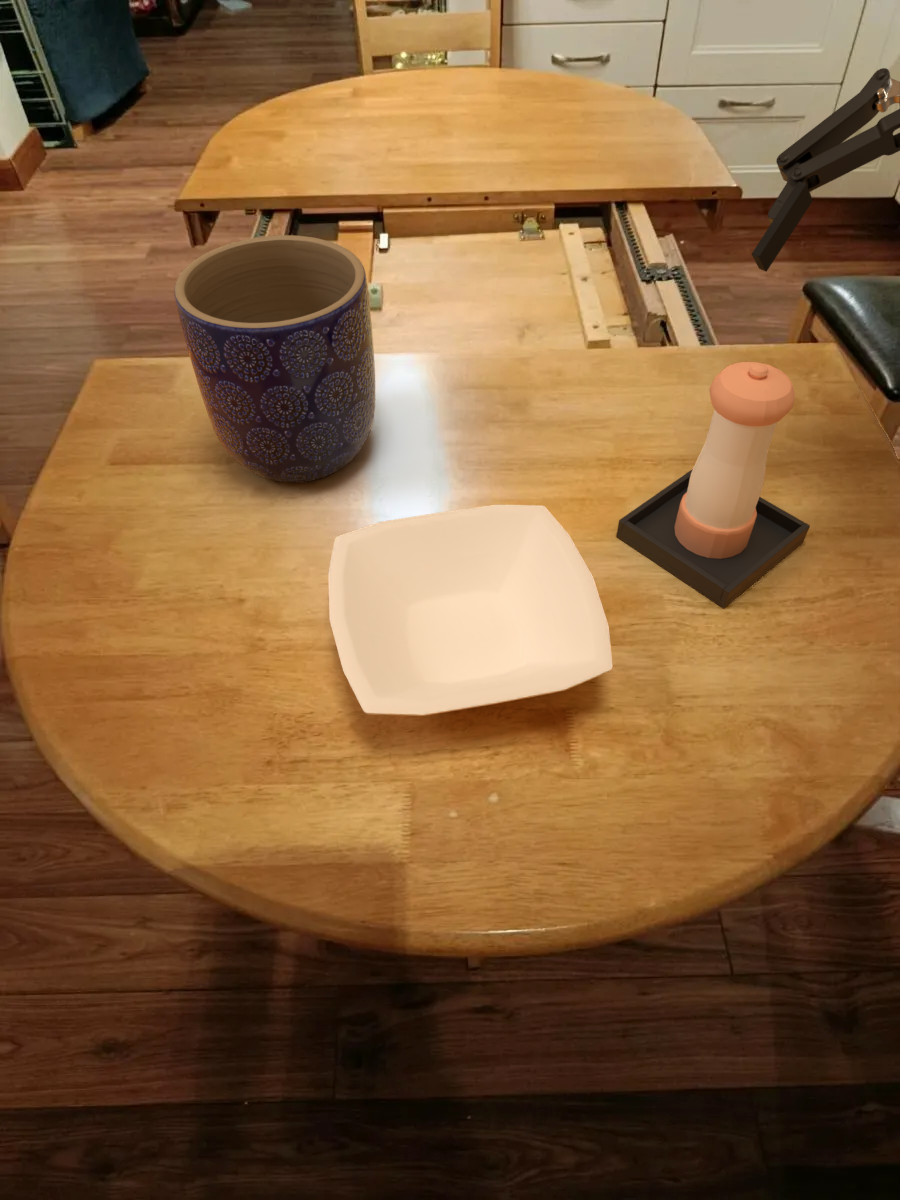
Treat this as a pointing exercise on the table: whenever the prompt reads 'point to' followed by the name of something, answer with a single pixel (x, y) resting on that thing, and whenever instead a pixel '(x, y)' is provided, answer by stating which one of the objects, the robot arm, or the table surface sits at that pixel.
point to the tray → (709, 576)
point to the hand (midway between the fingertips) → (830, 292)
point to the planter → (282, 352)
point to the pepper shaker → (733, 459)
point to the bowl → (464, 610)
